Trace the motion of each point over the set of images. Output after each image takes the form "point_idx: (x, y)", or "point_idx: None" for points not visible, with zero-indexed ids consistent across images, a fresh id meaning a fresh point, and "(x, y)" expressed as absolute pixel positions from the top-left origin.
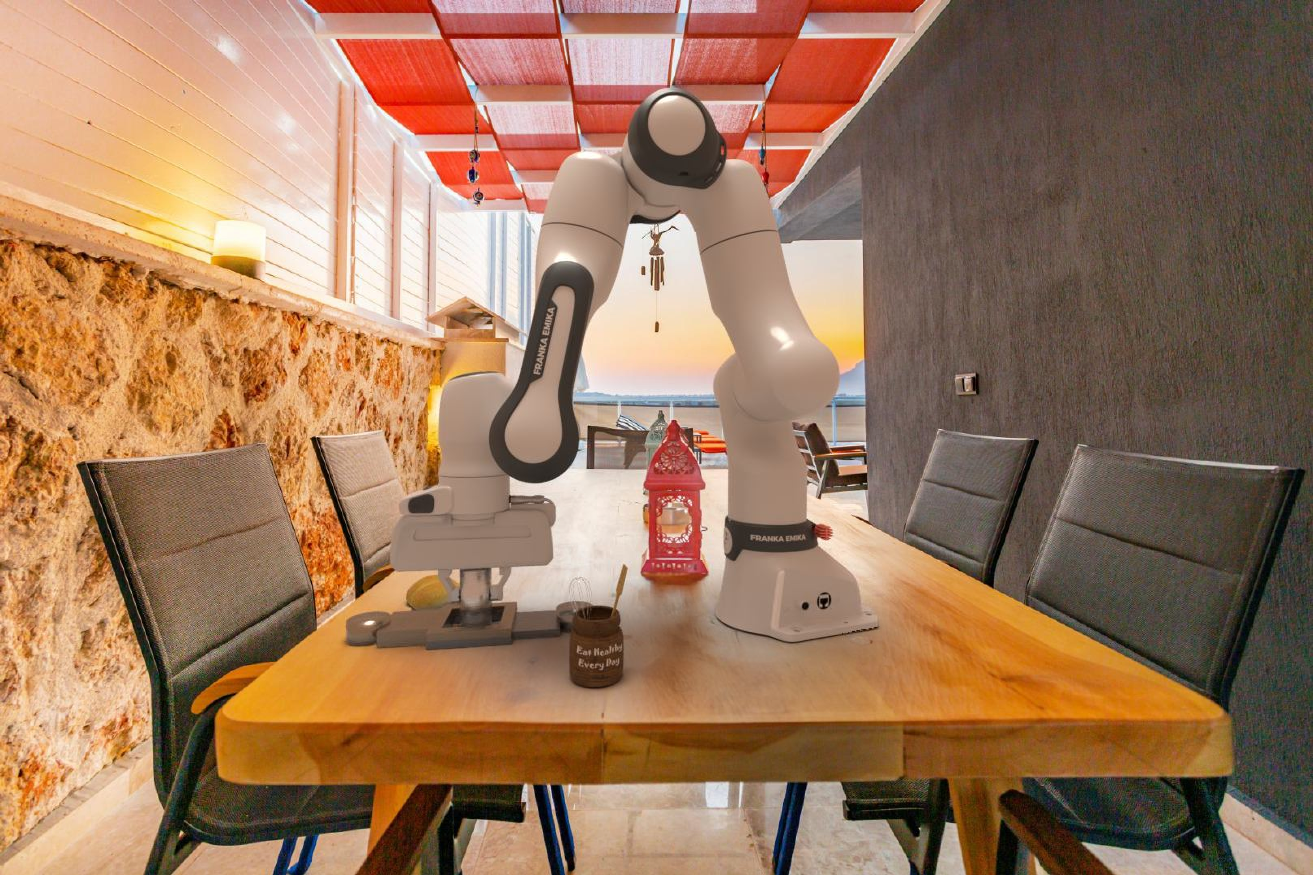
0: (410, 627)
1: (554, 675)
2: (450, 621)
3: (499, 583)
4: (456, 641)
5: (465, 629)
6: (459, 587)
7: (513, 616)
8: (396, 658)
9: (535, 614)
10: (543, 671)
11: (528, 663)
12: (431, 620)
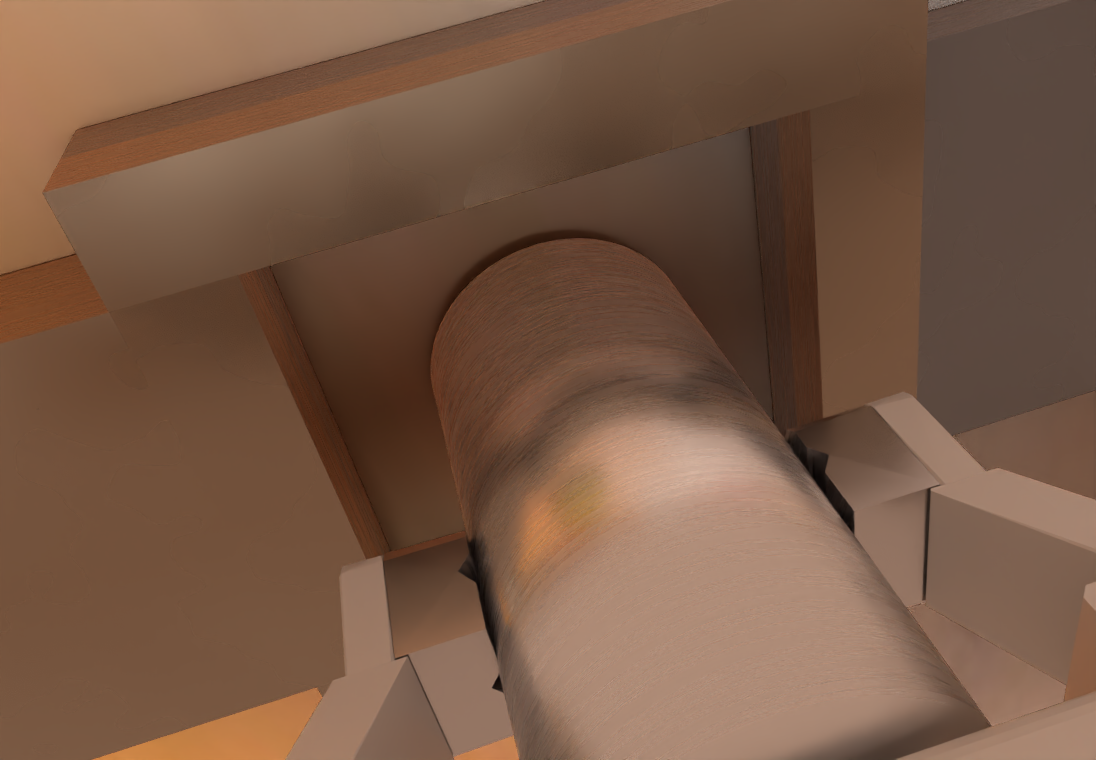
0: (147, 703)
1: (1060, 687)
2: (281, 318)
3: (985, 636)
4: None
5: None
6: (485, 667)
7: (915, 368)
8: (228, 754)
9: (1062, 92)
10: (1019, 674)
11: (956, 636)
12: (225, 567)
